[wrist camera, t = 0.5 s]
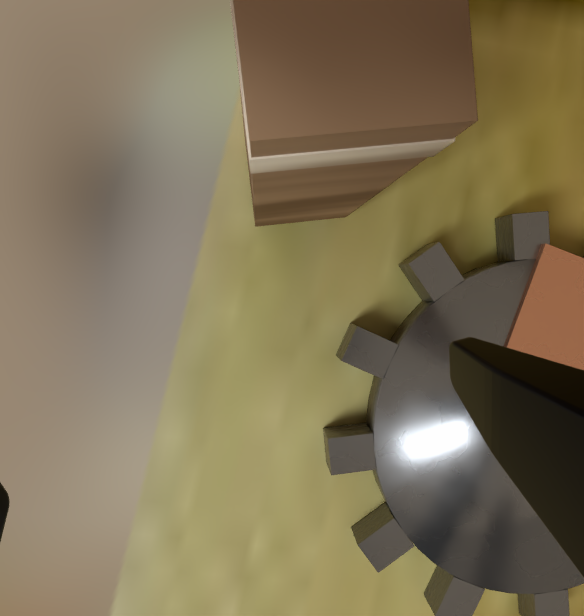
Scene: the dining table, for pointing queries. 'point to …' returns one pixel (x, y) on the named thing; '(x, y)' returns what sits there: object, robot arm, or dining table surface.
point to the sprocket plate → (462, 423)
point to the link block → (347, 97)
